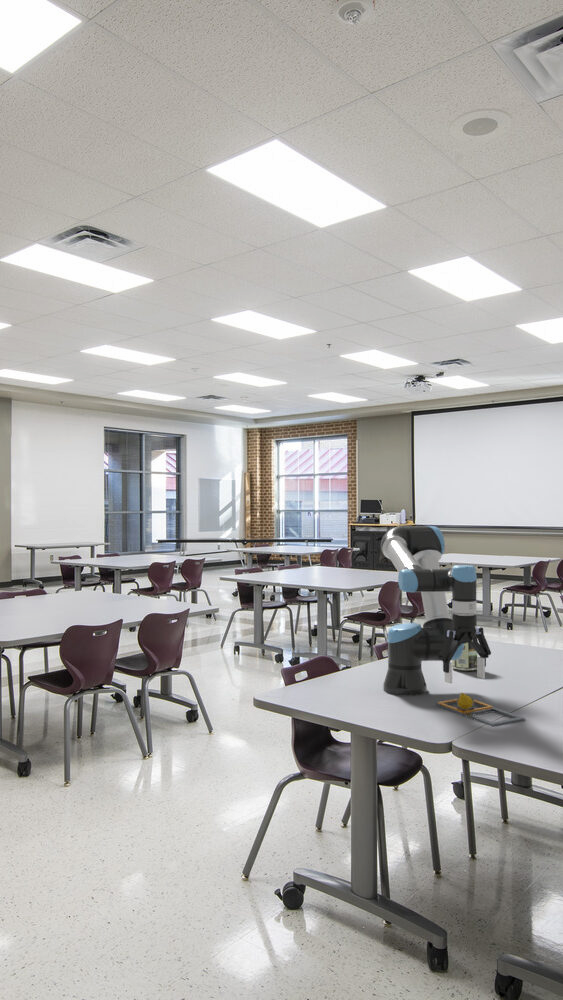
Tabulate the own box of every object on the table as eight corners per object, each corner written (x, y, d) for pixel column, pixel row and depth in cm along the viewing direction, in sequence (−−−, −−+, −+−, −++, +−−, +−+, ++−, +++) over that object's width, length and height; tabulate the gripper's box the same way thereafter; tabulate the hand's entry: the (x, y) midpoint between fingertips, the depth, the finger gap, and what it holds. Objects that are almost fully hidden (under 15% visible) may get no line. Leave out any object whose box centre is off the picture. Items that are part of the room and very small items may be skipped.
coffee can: (474, 664, 278) (473, 630, 278) (480, 670, 268) (480, 634, 268) (448, 664, 278) (448, 630, 278) (454, 670, 268) (454, 634, 268)
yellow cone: (462, 697, 219) (457, 682, 212) (478, 703, 216) (473, 688, 209) (455, 712, 216) (450, 696, 210) (471, 718, 213) (466, 703, 207)
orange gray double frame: (436, 706, 219) (436, 702, 219) (466, 700, 225) (466, 696, 225) (492, 727, 197) (492, 723, 197) (524, 721, 203) (524, 717, 203)
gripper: (441, 618, 208) (442, 687, 208) (502, 612, 219) (502, 677, 219) (426, 615, 215) (426, 682, 214) (485, 609, 226) (485, 672, 226)
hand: (464, 680), depth 217 cm, fingers open, 13 cm apart
